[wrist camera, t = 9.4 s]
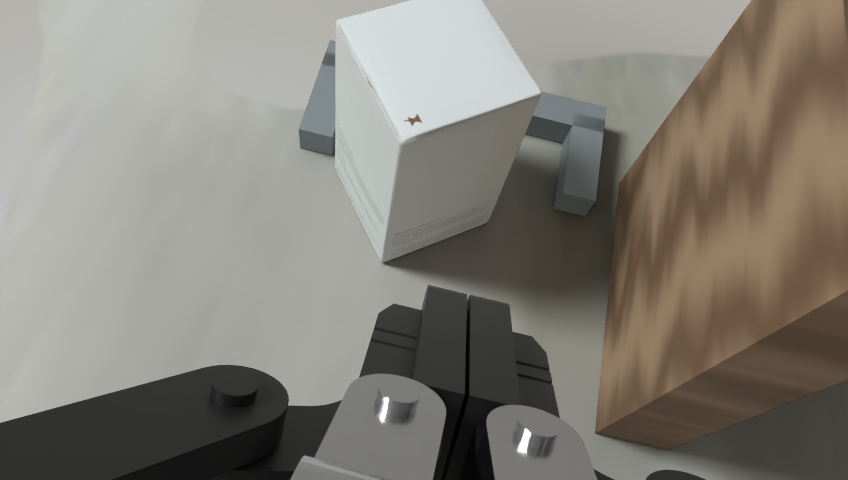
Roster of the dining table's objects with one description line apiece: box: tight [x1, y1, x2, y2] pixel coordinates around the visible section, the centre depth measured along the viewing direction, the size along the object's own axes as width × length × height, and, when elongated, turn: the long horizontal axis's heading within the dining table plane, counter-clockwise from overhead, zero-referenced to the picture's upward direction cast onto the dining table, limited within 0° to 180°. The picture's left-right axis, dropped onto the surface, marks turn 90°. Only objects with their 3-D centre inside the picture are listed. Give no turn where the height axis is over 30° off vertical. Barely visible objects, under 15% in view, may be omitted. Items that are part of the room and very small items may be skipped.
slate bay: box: [299, 40, 606, 216], centre depth 45 cm, size 7×18×2 cm, turn 78°
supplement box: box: [335, 0, 542, 263], centre depth 38 cm, size 7×7×13 cm
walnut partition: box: [595, 0, 848, 450], centre depth 31 cm, size 17×5×23 cm, turn 168°
